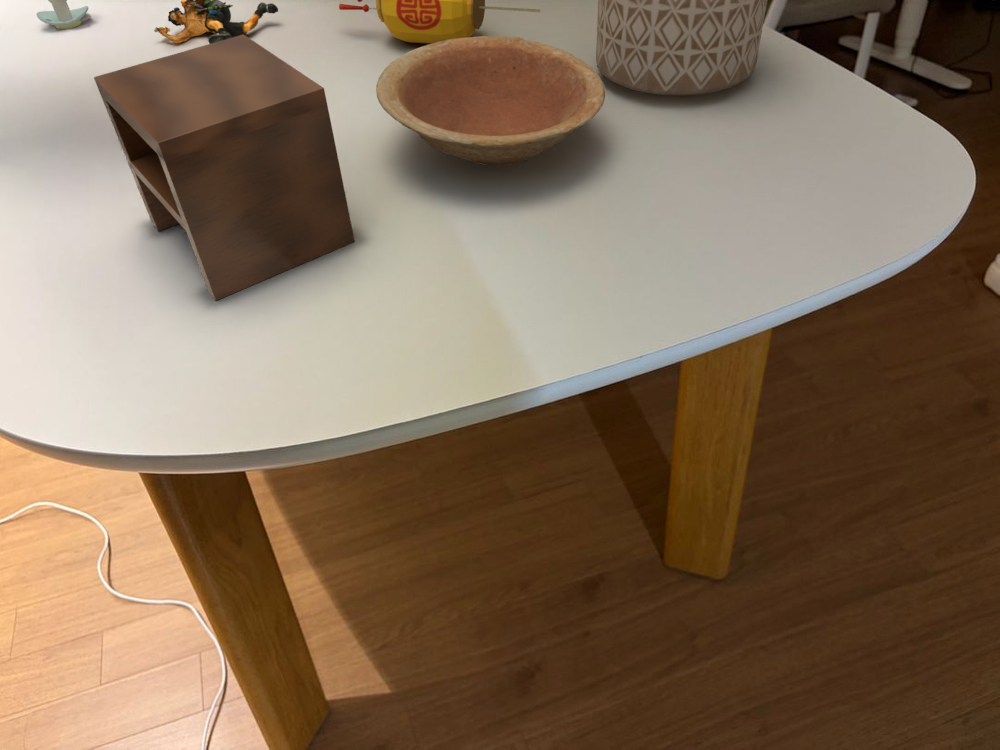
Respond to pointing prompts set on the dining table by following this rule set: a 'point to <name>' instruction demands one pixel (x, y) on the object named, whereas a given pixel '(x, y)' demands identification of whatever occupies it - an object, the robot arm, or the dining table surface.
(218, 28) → the action figure
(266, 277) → the shelf
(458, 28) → the lantern
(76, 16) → the pacifier
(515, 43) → the bowl
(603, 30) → the planter
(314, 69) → the dining table surface
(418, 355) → the dining table surface
